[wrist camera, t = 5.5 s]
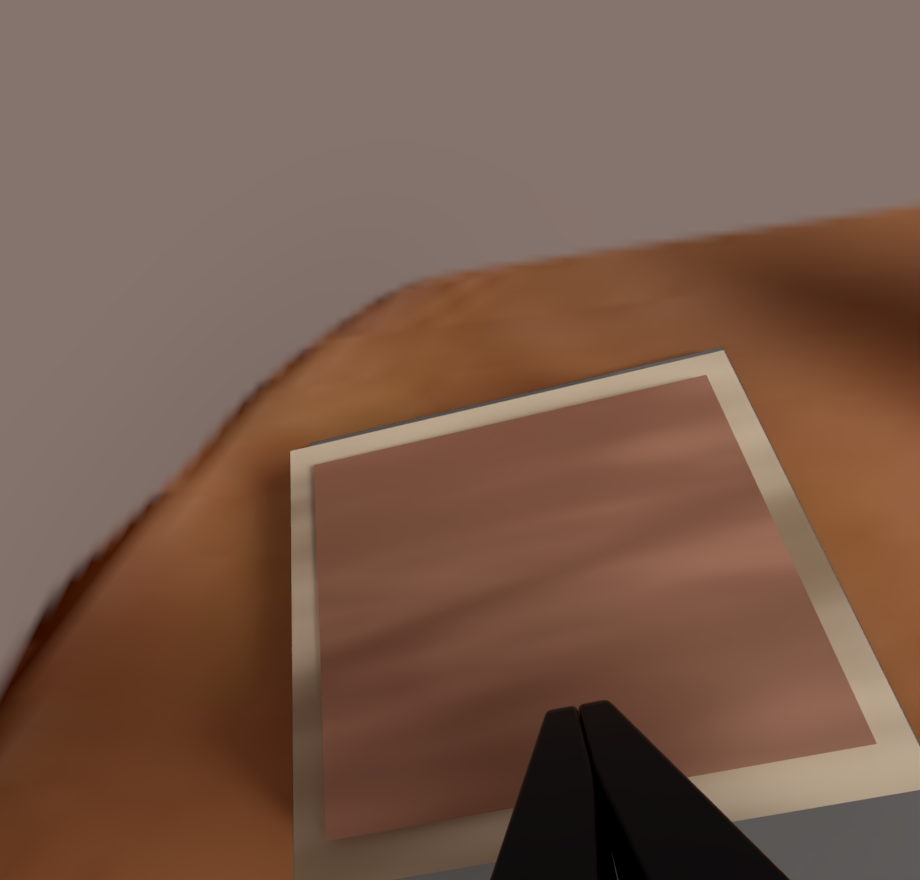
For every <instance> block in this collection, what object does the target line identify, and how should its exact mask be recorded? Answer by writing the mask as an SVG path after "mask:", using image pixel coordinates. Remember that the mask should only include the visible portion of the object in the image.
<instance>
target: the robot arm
mask: <svg viewBox="0 0 920 880" xmlns="http://www.w3.org/2000/svg"><path fill="white" fill-rule="evenodd" d="M579 715H580V716H579ZM613 860H614V861H613ZM614 864H615V865H614ZM615 868H616V870H615ZM616 873H617V874H616ZM617 877H618V879H617ZM490 880H790V879H789V878H788V877H787V876H786V875H785V874H784V873H783V872H782V871H781V870H780V869H779V868H778V867H777V866H776V865H775V864H774V863H773V862H772V861H771V860H770V859H769V858H768V857H767V856H766V855H765V854H764V853H763V852H762V851H761V850H760V849H759V848H758V847H757V846H756V845H755V844H754V843H753V842H752V841H751V840H750V839H749V838H748V837H747V836H746V835H745V834H744V833H743V832H742V831H741V830H740V829H739V828H738V827H737V826H736V825H735V824H734V823H733V822H732V821H731V820H730V819H729V818H728V817H727V816H726V815H725V814H724V813H723V812H722V811H721V810H720V809H719V808H718V807H717V806H716V805H715V804H714V803H713V802H712V801H711V800H710V799H709V798H708V797H707V796H706V795H705V794H704V793H703V792H701V791H700V790H699V789H698V788H697V787H696V786H695V785H694V784H693V783H692V782H691V781H690V780H689V779H688V778H687V777H686V776H685V775H684V774H683V773H682V772H681V771H680V770H679V769H678V768H677V767H676V766H675V765H674V764H673V763H672V762H671V761H670V760H669V759H668V758H667V757H666V756H665V755H664V754H663V753H662V752H661V751H660V750H659V749H658V748H657V747H656V746H655V745H654V744H653V743H652V742H651V741H650V740H649V739H648V738H647V737H646V736H645V735H644V734H643V733H642V732H641V731H640V730H639V729H638V728H637V727H636V726H635V725H634V724H633V723H632V722H631V721H630V720H629V719H628V718H627V717H626V716H625V715H624V714H623V713H622V712H621V711H620V710H619V709H618V708H617V707H616V706H615V705H614V704H612V703H611V702H610V701H609V700H599V701H594V702H588V703H583V704H581V705H580V706H579V712H578V709H577V708H576V707H575V706H567V707H562V708H556V709H551V710H549V711H547V712H546V714H545V716H544V719H543V722H542V725H541V728H540V731H539V734H538V737H537V740H536V743H535V746H534V749H533V752H532V755H531V758H530V761H529V764H528V767H527V770H526V773H525V776H524V779H523V782H522V785H521V788H520V791H519V794H518V797H517V800H516V803H515V806H514V809H513V812H512V815H511V818H510V821H509V824H508V827H507V830H506V833H505V836H504V839H503V842H502V845H501V848H500V851H499V854H498V857H497V860H496V863H495V866H494V869H493V872H492V875H491V878H490Z"/></svg>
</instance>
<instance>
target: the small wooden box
mask: <svg viewBox="0 0 920 880" xmlns="http://www.w3.org/2000/svg"><path fill="white" fill-rule="evenodd" d="M290 460H291V584H292V708H293V832H294V880H394V879H399V878H405V877H411V876H417V875H423V874H429V873H435V872H441V871H446V870H452V869H458V868H464V867H470V866H476V865H482V864H488V863H493V862H496V860H497V857H498V854H499V851H500V848H501V845H502V842H503V839H504V836H505V833H506V830H507V827H508V824H509V821H510V818H511V815H512V812H513V809H514V806H515V803H516V800H517V797H518V794H519V791H520V788H521V785H522V782H523V779H524V776H525V773H526V770H527V767H528V764H529V761H530V758H531V755H532V752H533V749H534V746H535V743H536V740H537V737H538V734H539V731H540V728H541V725H542V722H543V719H544V716H545V714H546V712H547V711H549V710H551V709H556V708H562V707H567V706H575V707H576V708H577V709H578V712H579V706H580V705H581V704H583V703H588V702H594V701H599V700H609V701H610V702H611V703H612V704H614V705H615V706H616V707H617V708H618V709H619V710H620V711H621V712H622V713H623V714H624V715H625V716H626V717H627V718H628V719H629V720H630V721H631V722H632V723H633V724H634V725H635V726H636V727H637V728H638V729H639V730H640V731H641V732H642V733H643V734H644V735H645V736H646V737H647V738H648V739H649V740H650V741H651V742H652V743H653V744H654V745H655V746H656V747H657V748H658V749H659V750H660V751H661V752H662V753H663V754H664V755H665V756H666V757H667V758H668V759H669V760H670V761H671V762H672V763H673V764H674V765H675V766H676V767H677V768H678V769H679V770H680V771H681V772H682V773H683V774H684V775H685V776H686V777H687V778H688V779H689V780H690V781H691V782H692V783H693V784H694V785H695V786H696V787H697V788H698V789H699V790H700V791H701V792H703V793H704V794H705V795H706V796H707V797H708V798H709V799H710V800H711V801H712V802H713V803H714V804H715V805H716V806H717V807H718V808H719V809H720V810H721V811H722V812H723V813H724V814H725V815H726V816H727V817H728V818H729V819H730V820H731V821H732V822H734V821H740V820H746V819H752V818H758V817H764V816H769V815H775V814H781V813H787V812H793V811H799V810H805V809H811V808H816V807H822V806H828V805H834V804H840V803H846V802H852V801H857V800H863V799H869V798H875V797H881V796H887V795H893V794H899V793H904V792H910V791H916V790H920V746H919V744H918V742H917V740H916V738H915V736H914V734H913V732H912V730H911V728H910V726H909V724H908V722H907V720H906V718H905V716H904V714H903V712H902V710H901V708H900V706H899V704H898V702H897V700H896V698H895V696H894V694H893V692H892V689H891V687H890V685H889V683H888V681H887V679H886V677H885V675H884V673H883V671H882V669H881V667H880V665H879V663H878V661H877V659H876V657H875V655H874V653H873V651H872V649H871V647H870V645H869V643H868V641H867V639H866V637H865V635H864V633H863V631H862V629H861V627H860V625H859V623H858V621H857V619H856V617H855V615H854V613H853V611H852V609H851V607H850V605H849V603H848V601H847V598H846V596H845V594H844V592H843V590H842V588H841V586H840V584H839V582H838V580H837V578H836V576H835V574H834V572H833V570H832V568H831V566H830V564H829V562H828V560H827V558H826V556H825V554H824V552H823V550H822V548H821V546H820V544H819V542H818V540H817V538H816V536H815V534H814V532H813V530H812V528H811V526H810V524H809V522H808V520H807V518H806V516H805V514H804V512H803V510H802V507H801V505H800V503H799V501H798V499H797V497H796V495H795V493H794V491H793V489H792V487H791V485H790V483H789V481H788V479H787V477H786V475H785V473H784V471H783V469H782V467H781V465H780V463H779V461H778V459H777V457H776V455H775V453H774V451H773V449H772V447H771V445H770V443H769V441H768V439H767V437H766V435H765V433H764V431H763V429H762V427H761V425H760V423H759V421H758V419H757V416H756V414H755V412H754V410H753V408H752V406H751V404H750V402H749V400H748V398H747V396H746V394H745V392H744V390H743V388H742V386H741V384H740V382H739V380H738V378H737V376H736V374H735V372H734V370H733V368H732V366H731V364H730V362H729V360H728V358H727V356H726V354H725V352H724V350H722V351H718V352H714V353H709V354H705V355H701V356H696V357H692V358H688V359H684V360H679V361H675V362H671V363H666V364H662V365H658V366H654V367H649V368H645V369H641V370H636V371H632V372H628V373H624V374H619V375H615V376H611V377H606V378H602V379H598V380H593V381H589V382H585V383H581V384H576V385H572V386H568V387H563V388H559V389H555V390H551V391H546V392H542V393H538V394H533V395H529V396H525V397H521V398H516V399H512V400H508V401H503V402H499V403H495V404H490V405H486V406H482V407H478V408H473V409H469V410H465V411H460V412H456V413H452V414H448V415H443V416H439V417H435V418H430V419H426V420H422V421H418V422H413V423H409V424H405V425H400V426H396V427H392V428H388V429H383V430H379V431H375V432H370V433H366V434H362V435H357V436H353V437H349V438H345V439H340V440H336V441H332V442H327V443H323V444H319V445H315V446H310V447H306V448H302V449H297V450H293V451H290ZM579 716H580V715H579Z"/></svg>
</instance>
